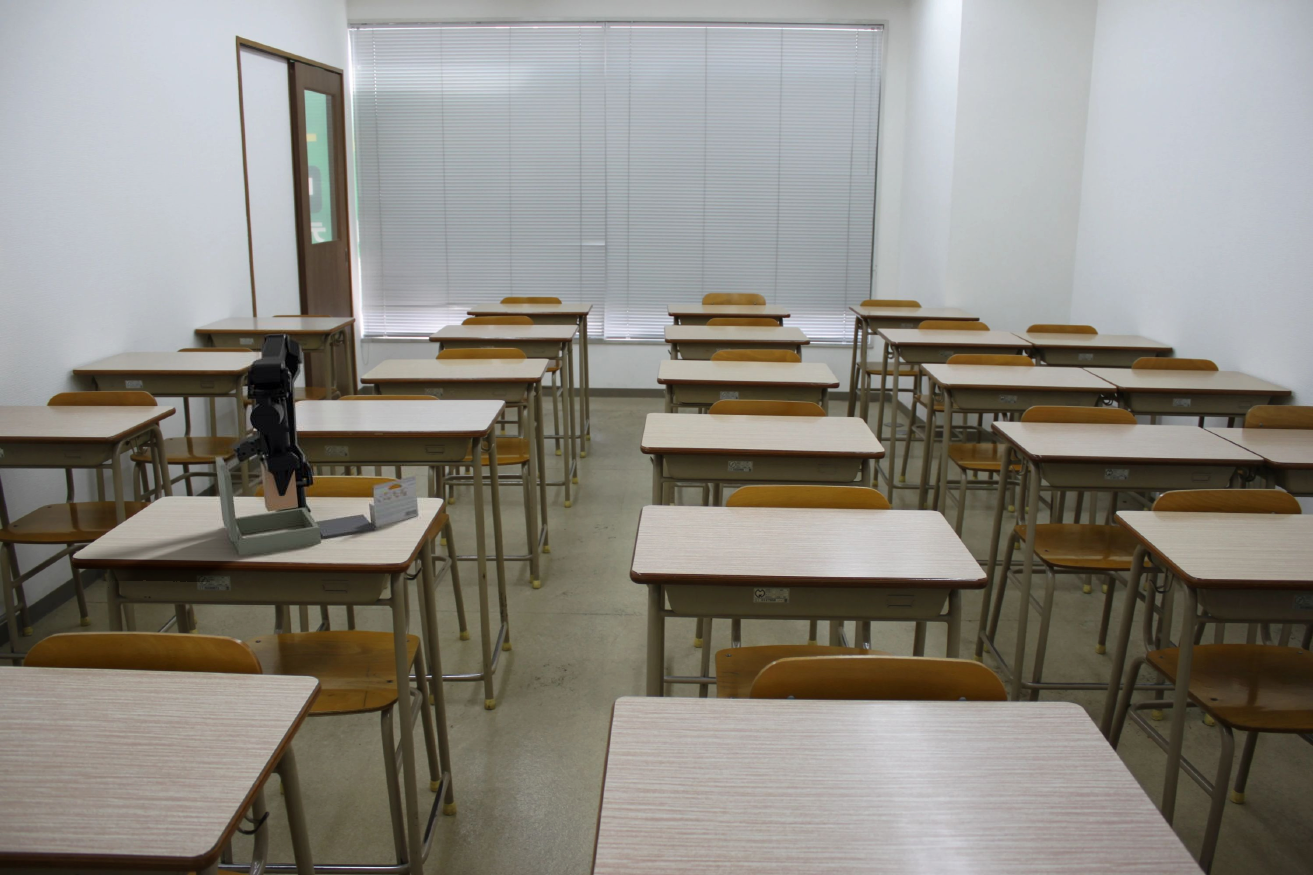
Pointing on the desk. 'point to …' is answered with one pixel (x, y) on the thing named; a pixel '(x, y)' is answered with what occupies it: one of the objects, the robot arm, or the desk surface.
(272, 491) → the box
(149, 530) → the desk surface
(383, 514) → the ink cartridge box
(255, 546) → the case
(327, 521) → the rubber mat
